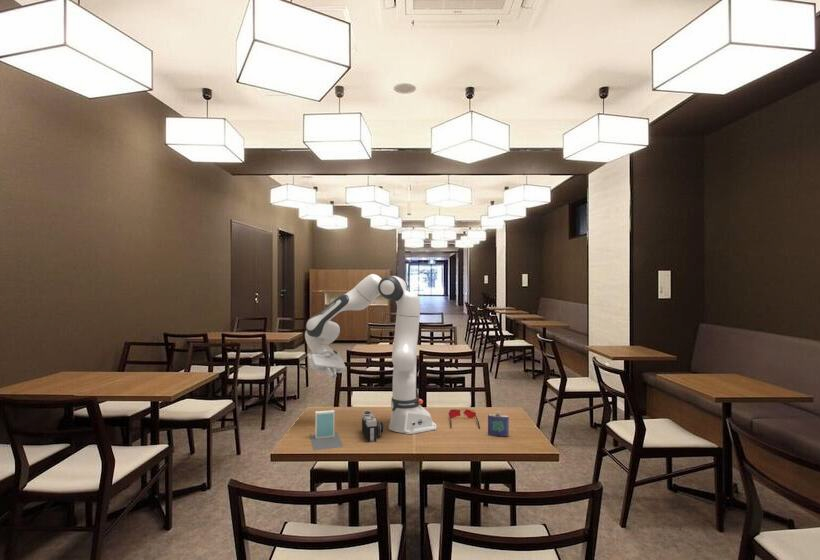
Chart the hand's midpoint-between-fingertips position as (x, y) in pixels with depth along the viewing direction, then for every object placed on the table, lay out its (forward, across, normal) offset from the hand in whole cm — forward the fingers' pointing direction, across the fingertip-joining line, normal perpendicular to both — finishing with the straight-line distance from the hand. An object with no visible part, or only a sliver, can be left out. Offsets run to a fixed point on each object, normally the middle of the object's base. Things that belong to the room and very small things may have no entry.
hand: (333, 377), depth 202 cm
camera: (+32, +9, +2) cm, 33 cm away
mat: (+25, -7, +13) cm, 29 cm away
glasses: (+41, +50, -20) cm, 67 cm away
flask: (+57, +45, -33) cm, 80 cm away
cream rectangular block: (+22, -5, +15) cm, 26 cm away
